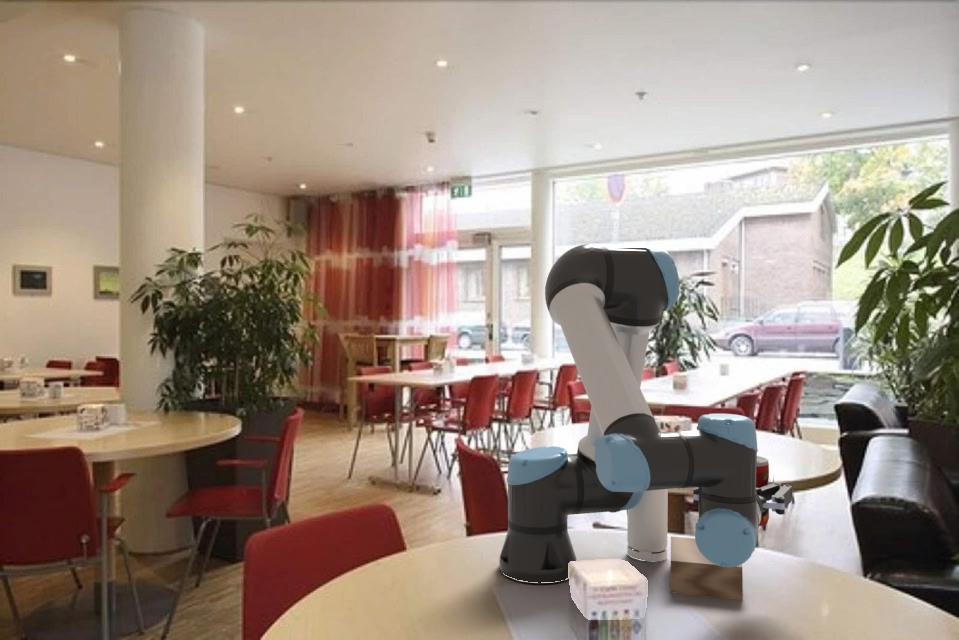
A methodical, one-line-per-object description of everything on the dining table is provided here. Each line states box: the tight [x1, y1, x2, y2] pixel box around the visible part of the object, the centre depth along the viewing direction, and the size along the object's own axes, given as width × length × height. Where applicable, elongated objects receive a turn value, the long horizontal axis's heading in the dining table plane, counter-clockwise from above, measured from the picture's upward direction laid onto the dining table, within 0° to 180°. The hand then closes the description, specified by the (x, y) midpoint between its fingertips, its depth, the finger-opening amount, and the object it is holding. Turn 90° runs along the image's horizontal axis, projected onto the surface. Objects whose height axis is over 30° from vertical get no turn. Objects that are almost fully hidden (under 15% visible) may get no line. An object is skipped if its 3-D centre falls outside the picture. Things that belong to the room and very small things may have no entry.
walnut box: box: [670, 535, 744, 601], centre depth 122 cm, size 12×14×6 cm
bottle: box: [626, 419, 669, 563], centre depth 136 cm, size 8×8×28 cm
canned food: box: [756, 455, 770, 527], centre depth 115 cm, size 8×8×11 cm
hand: (745, 478), depth 118 cm, fingers closed on canned food, 8 cm apart
